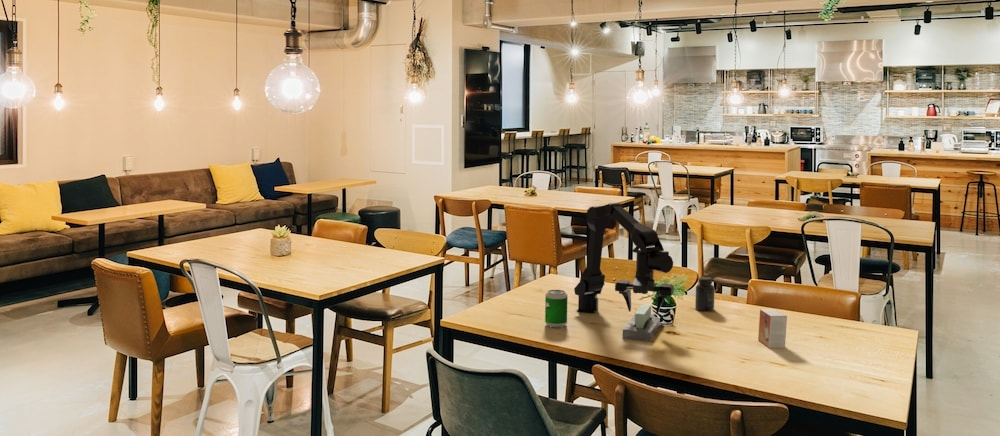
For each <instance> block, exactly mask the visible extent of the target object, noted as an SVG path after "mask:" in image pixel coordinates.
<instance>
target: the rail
mask: <svg viewBox="0 0 1000 436" xmlns="http://www.w3.org/2000/svg"><path fill="white" fill-rule="evenodd" d="M654 315H655V314H653V313H651V316H650V320H647V321H646V322H645V324H644V328H637V327H636V324H635V314H634V315H632V318H630V320H629V321H628V322H627V323H626V325H625V326H624V327H623V329H622V339H626V340H633V341H634V340H635V341H640V342H642V341H643V342H651V341H652V339H653V338H654V336H655V335H656V333H657V331H659V329H660V327H661V326H660V318H657V317H655V316H654Z"/></svg>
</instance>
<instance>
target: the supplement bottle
mask: <svg viewBox="0 0 1000 436" xmlns="http://www.w3.org/2000/svg"><path fill="white" fill-rule="evenodd" d="M715 290H716V289H715V286H714V285H713V278H712V277H711V276H710V277H709V276H700V277H699V278H698V284H697V285H696V286H695V299H694V301H695V305H694V307H695V310H696V311H699V312H713V311H714V310H715V294H716V293H715Z"/></svg>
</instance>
